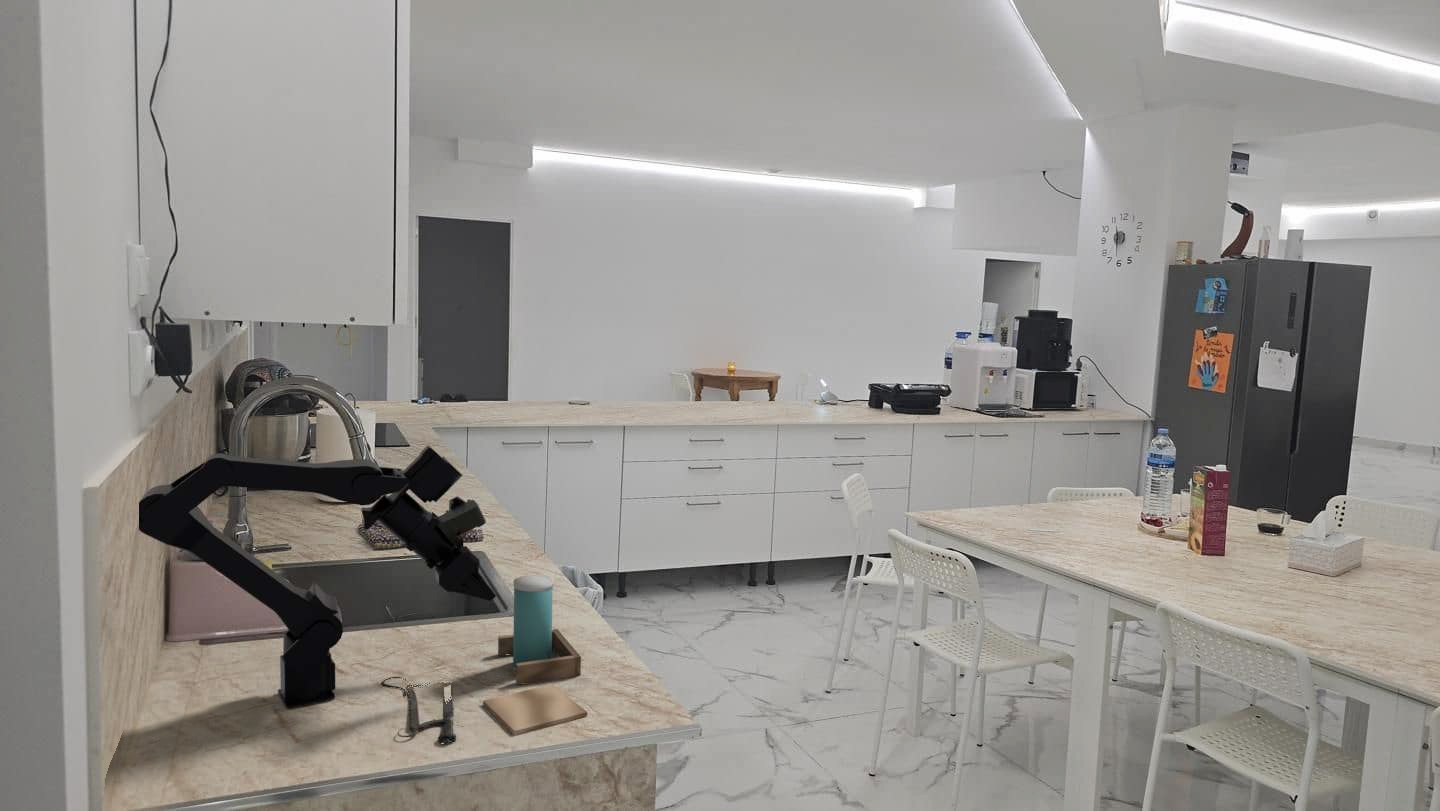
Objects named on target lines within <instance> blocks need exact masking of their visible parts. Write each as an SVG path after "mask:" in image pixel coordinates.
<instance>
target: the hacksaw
mask: <svg viewBox="0 0 1440 811" xmlns="http://www.w3.org/2000/svg"><path fill="white" fill-rule="evenodd" d="M391 678H393V679H401V678H403V679H402V680H404V677H401V676H390V677H387V678H385V679H384V680H382V681H381V683H380V684H381V686H383V687H385V686H386V687H385V688H390V687H396V688H395V689H397V688H401V689H403V688H404V687H401V686H396V685H390V684H386V683H385V682H387V681H389V680H392V679H391ZM388 679H389V680H388ZM406 679H407V678H405V680H404V681H406ZM386 680H387V681H386ZM428 683H429V684H430V683H431V682H428ZM438 683H439V682H438ZM442 683H443V682H442ZM410 684H411V683H409V685H407V683H406V684H405V685H407V688H408V687H409V688H408V692H407V690H406V688H404V689H403V690H404V692H403V696H404V695H405V696H406V695H407V697H408V696H409V698H408V701H409V702H408V703H409V705H410V706H409V707H408V708H410V709H408V712H409V716H408V720H409V721H408V722H409V723H408V729H409V730H411V731H413V733H411V734H409V735H408V734H407V735H401V734H400V732H401V731H402V730H404V727H402V728H401V729H399V730H398V732H397V736H398V737H400V738H412V737H414V736H416V735H417V734H418V733H419V732H420V731H422V730H425V729H427V728H429V727H433V726H440V725H443V730H442V733H441V734H440V735H439V736H438V737H437V740H438V742H439V743H440V744H441V743H444V744H443V745H448V744H447V743H450V744H453V743H452V742H454V743H456V741H457V735H456V734H455V733H454V728H453V727H454V720H453V717H455V716H454V714H455V713H454V700H453V699H454V698H452V699H451V700H449V699H448V700H449V702H448V701H446V702H447V704H446V702H445V703H444V701H445V700H444V699H443V706H444V708H443V709H444V718H441V719H440V718H439V719H432V720H429V721H425V722H423V723H420V720H419V719H420V717H419V706H418V705H419V704H418V698H416V697H417V695H416V692H414V691H415V688H413V687H417V686H418V687H419V686H421V685H422V684H417V685H416V684H411V685H410ZM426 684H427V683H426ZM439 684H440V683H439ZM443 684H444V683H443ZM412 685H413V687H412ZM414 685H416V686H414ZM427 685H428V684H427ZM410 686H411V687H410ZM422 686H423V685H422ZM425 686H426V685H425ZM426 687H427V686H426ZM401 689H400V690H401ZM413 689H414V690H413ZM403 690H402V691H403ZM405 690H406V691H405ZM408 693H409V695H408ZM450 698H451V697H450ZM409 699H410V700H409ZM445 743H446V744H445Z"/></svg>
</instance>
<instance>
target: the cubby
mask: <svg viewBox="0 0 1440 811" xmlns="http://www.w3.org/2000/svg"><path fill="white" fill-rule="evenodd" d="M497 640H498V641H497V655H498V654H499V655H498V656H499V657H501V656H500V655H505V656H507V655H506V654H512V655H513V634H508V635H499V636H498V637H497ZM553 649H554V650H555V651H554V650H553ZM551 650H553V651H554V653H556V654H557V656H558V657H551V659H544V660H537V661H530V662H523V663H516V670H515V683H517V684H519V685H523V684H522V683H526V684H532V682H533V683H538V681H539V682H545V680H546V681H552V680H559V679H565V678H569V677H570V678H571V677H577V676H581V675H582V674H581V672H582V667H581V666H582V656H581V655H580V654H579V652H577V650H576V649H575V648H574V647H573V646H572V645H571V643H570V642H569V641H568V640H567V639H566V637H565V636H564V634H562V632H561V631H560V630H559V629H558V628H555V629H552V646H551ZM517 684H516V685H517Z"/></svg>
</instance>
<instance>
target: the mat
mask: <svg viewBox="0 0 1440 811" xmlns="http://www.w3.org/2000/svg"><path fill="white" fill-rule="evenodd" d="M483 704H484V705H485V706H486V707H487V708H488V709H489V710H488V709H487V708H486V707H485V706H484V705H483ZM482 705H483V706H484V707H485V708H486V709H487V710H488V711H489V712H490V713H491V714H492V715H493V716H494V717H495V718H496V719H497V720H498V721H499V722H500V723H501V724H503V726H505V728H507V729H508V731H509V732H510V733H511V734H512V735H514V736H516V735H521V734H524V733H525V734H526V733H529V732H532V731H536V730H540V729H543V728H547V727H551V726H555V725H557V724H558V725H559V724H562V723H566V722H570V721H573V720H576V719H580V718H581V719H582V718H584V717H588V711H587V710H586V709H584V708H583V707H582V706H580V705H579V704H578V703H577V702H575V701H574V700H573V699H572V698H571V697H569V696H568V695H567V694H566V693H564V692H563V691H562V690H561V689H559V688H558V687H557V686H556V685H555V684H548V685H544V686H539V687H536V688H531V689H526V690H523V691H518V692H513V693H509V694H506V695H505V694H504V695H502V696H497V697H494V698H488V699H485V700H484V699H483V703H482Z"/></svg>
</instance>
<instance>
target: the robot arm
mask: <svg viewBox="0 0 1440 811" xmlns="http://www.w3.org/2000/svg"><path fill="white" fill-rule="evenodd" d="M463 476H464V475H463V473H461V472H460V471H459V470H458V468H456V467H455V466H454V465H453V464H452V463H451V462H450V461H449V460H448V459H447V458H445V457H444V456H441V455H440V454H439V453H438V452H437V451H436V450H434V449H433V448H432V447H431V446H430V445H426V446H425V447H424V448H423V449H422V451H421V452H420V453H419V455H417V457H416V458H415V459H413V461H412V462H411V463H409V465H408V466H407V467H406V468H405V469H402V468H396V467H386V466H385V467H384V466H379V465H378V464H377V463H376V462H374V461H373V460H372V459H371V460H370V459H368V458H358V459H344V460H343V459H341V460H335V461H329V462H319V463H317V462H316V463H315V462H301V461H293V460H291V461H290V460H280V459H271V458H270V459H268V458H257V457H246V456H244V457H243V456H235V455H234V456H233V455H229V454H226V453H214V454H212V455H210V456H208V457H207V458H206V459H205V460H204V461H203V462H202V463H201V464H199V465H197V466H196V467H194V468H192V469H191V470H190V471H188V472H186V473H185V474H183V475H181V476H180V477H179V478H177V479H176V480H174V481H173V482H171V483H169V484H159V485H156V486H153V487H151V488H150V489H149V490H147V491H146V492H145V493H144V495H142V497H141V498H142V499H140V500H139V501H140V502H139V501H138V503H139V529H138V530H139V532H141V533H142V534H144V535H146V536H148V537H150V538H152V539H154V540H156V541H159V542H160V543H162V544H165V545H167V546H171V547H173V548H177V549H179V550H182V551H183V550H184V551H186V552H188V553H191V554H192V555H194V556H195V557H197V558H198V559H200V560H201V561H202V562H204V563H205V564H207V565H208V566H209V567H211V568H212V569H214V570H215V571H216V572H218V573H219V574H221V575H222V576H223V577H225V578H226V579H228V580H229V581H231V582H232V583H233V584H234V585H236V586H238V587H239V588H241V589H242V590H244V591H245V593H248V594H249V595H251V597H253V598H255V599H256V600H257V601H259V602H260V603H262V604H263V605H264V606H266V607H267V608H269V609H270V610H271V611H273V612H274V613H275V614H276V615H277V616H278V618H279V619H280V621H282V623H283V625H284V626H285V627H286V628H287V629H288V630H287V631H285V633H283V639H282V640H283V646H282V647H283V648H282V654H281V655H280V656H279V659H280V660H279V661H280V662H279V663H280V668H279V670H280V671H279V672H280V673H279V674H280V688H279V689H278V690H277V694H278V696H279V698H280V700H281V701H282V703H283V705H284V707H285V708H286V709H293V708H298V707H303V706H308V705H313V704H317V703H321V702H326V701H330V700H335V698H336V694H335V693H334V691H335V690H336V663H335V661H334V660H333V658H332V653H331V652H330V649H331V648H333V647H335V646H336V645H337V644H338V643H339V641H340V640H341V638H342V636H343V632H344V627H343V621H342V620H343V619H342V612H341V609H340V607H339V606H338V602H337V597H336V596H332V595H329V594H328V593H326V592H325V591H323V590H322V589H321V587H320V586H319V585H318V584H317V583H316V582H313V583H312V585H311V586H310V587H309V589H305V588H302V587H299V586H297V585H294V584H293V583H291V582H290V581H288V580H287V579H286V578H284V577H283V576H281V575H280V574H279V573H277V572H276V571H275V570H274V569H272V568H270V567H269V566H268V565H266V564H265V563H264V562H262V561H261V560H259V559H258V558H257V557H255V556H254V555H253V554H251V552H248V551H247V550H246V549H245V548H243V547H242V546H241V545H239V544H238V543H236V542H235V541H234V540H232V539H231V538H230V537H228V536H227V535H226V534H224V533H223V532H222V531H221V530H219V529H217V528H216V527H214V525H213V524H212V523H211V522H210V520H209V519H208V518H207V517H206V515H205V514H204V513H203V511H202V509H201V508H200V507H199V505H200V504H202V503H203V502H204V501H205V500H207V499H208V498H210V496H211V495H213V494H214V493H215V492H216V491H218V490H220V489H221V488H223V487H236V488H249V489H260V490H261V489H262V490H276V491H277V490H278V491H289V492H305V493H312V494H313V493H314V494H317V495H321V496H322V495H323V496H326V497H328V498H330V499H331V498H332V499H335V500H337V501H341V502H346V503H350V504H353V505H358V506H370V505H372V504H373V505H372V506H370V507H361V509H360V512H361V514H362V518H361V519H362V520H361V523H362V528H363V529H364V530H366V531H368V530H370V528H371V527H372V526H374V525H375V523H376V522H378V523H379V524H380V525H382V526H383V527H384V528H385V529H386V530H387V531H388V532H390V533H391V534H392V535H393V536H394V537H395V538H396V539H397V540H399V541H400V542H401V543H402V544H403V545H404V546H405V548H406V549H407V550H408V551H409V552H412V553H414V554H415V555H417V557H419V558H420V559H421V560H422V561H423V562H424V564H425V565H426V566H427V567H428V568H429V569H431V570H432V569H433V568H434V567H435V569H434V578H435V580H436V583H437V584H438V585H439V586H440V587H441V588H443V589H444V590H445V591H446V592H447V593H459V594H462V595H466V596H471V597H475V598H478V599H481V600H486V601H489V602H492V601H493V600H494V599H495V598H496V594H495V592H494V591H493V589H492V588H491V586H489V584H488V583H487V581H485V579H484V578H483V576H482V575H481V573H480V572H479V569H480V568H479V567H480V565H481V561H480V558H478V556H477V555H476V554H475V553H474V552H473V550H471V549H470V548H469V547H468V546H467V545H464V538H463V536H462V535H464V534H466V533H467V532H470V531H472V530H474V529H476V528H480V527H482V526H484V525H485V524H486V523H487V521H486V519H485V516H484V515H483V512H482V511H481V508H480V506H479V504H478V503H477V502H476V501H475V499H468V498H467V501H466V500H464V499H462V498H461V497H460V496H458V495H456V496H455V497H453V498H451V499H449V500H448V503H449V504H448V509H446V510H445V512H444V513H443V514H441V515H439V516H438V515H437V514H436V513H435V512H434V511H432V512H431V511H428V510H427V509H426V508H425V507H424V506H423V505H422V504H420V503H419V502H418V501H417V500H416V499H415V498H413V497H412V496H411V495H410V494H409V493H408V491H411V492H412V493H413V495H415V496H416V497H417V498H418V499H419V500H421V501H422V502H423V503H424V504H426V503H427V502H428V503H429V504H430V503H432V502H433V501H434V502H435V503H437V502H438V501H439V500H440V499H441V498H442V497H443V496H444V495H445V494H446V493H447V492H448V491H449V490H450V489H451V488H452V487H453V486H454V485H455V484H456V483H457V482H458V481H459V480H460V479H461V478H462V477H463ZM389 494H390V495H389Z"/></svg>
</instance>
